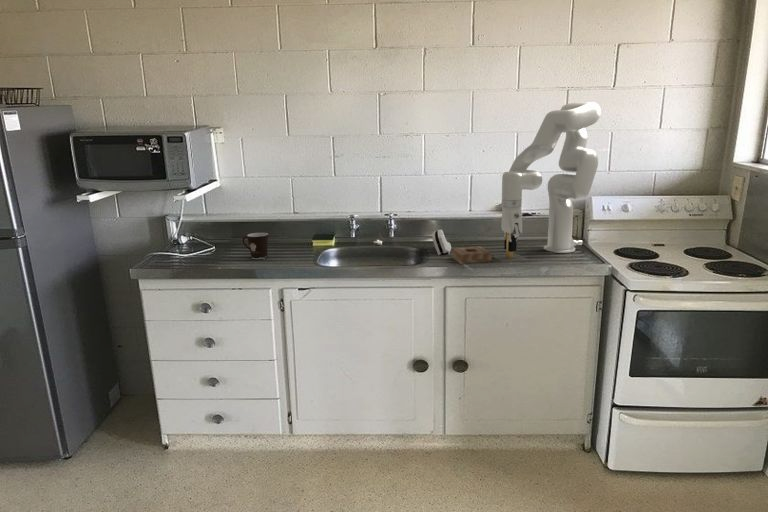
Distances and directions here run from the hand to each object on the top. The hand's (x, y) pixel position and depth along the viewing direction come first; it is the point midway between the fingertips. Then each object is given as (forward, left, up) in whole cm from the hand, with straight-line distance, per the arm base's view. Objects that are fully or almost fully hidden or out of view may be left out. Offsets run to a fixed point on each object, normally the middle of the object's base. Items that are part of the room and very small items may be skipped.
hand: (510, 249), depth 223 cm
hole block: (+15, -3, -4) cm, 16 cm away
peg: (0, 0, -3) cm, 3 cm away
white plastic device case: (+21, -23, -4) cm, 32 cm away
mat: (0, 0, -4) cm, 4 cm away
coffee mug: (+98, -34, -4) cm, 104 cm away
